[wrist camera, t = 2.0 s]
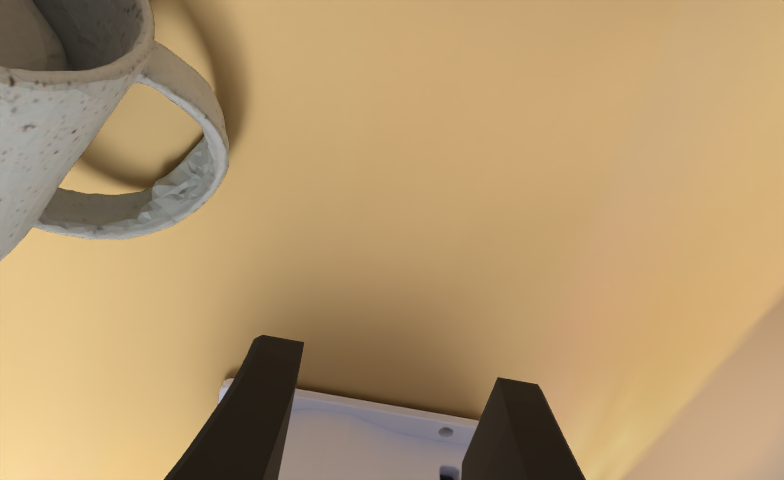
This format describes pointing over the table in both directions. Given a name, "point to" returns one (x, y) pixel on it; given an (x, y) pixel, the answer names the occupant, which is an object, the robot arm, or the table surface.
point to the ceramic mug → (91, 118)
